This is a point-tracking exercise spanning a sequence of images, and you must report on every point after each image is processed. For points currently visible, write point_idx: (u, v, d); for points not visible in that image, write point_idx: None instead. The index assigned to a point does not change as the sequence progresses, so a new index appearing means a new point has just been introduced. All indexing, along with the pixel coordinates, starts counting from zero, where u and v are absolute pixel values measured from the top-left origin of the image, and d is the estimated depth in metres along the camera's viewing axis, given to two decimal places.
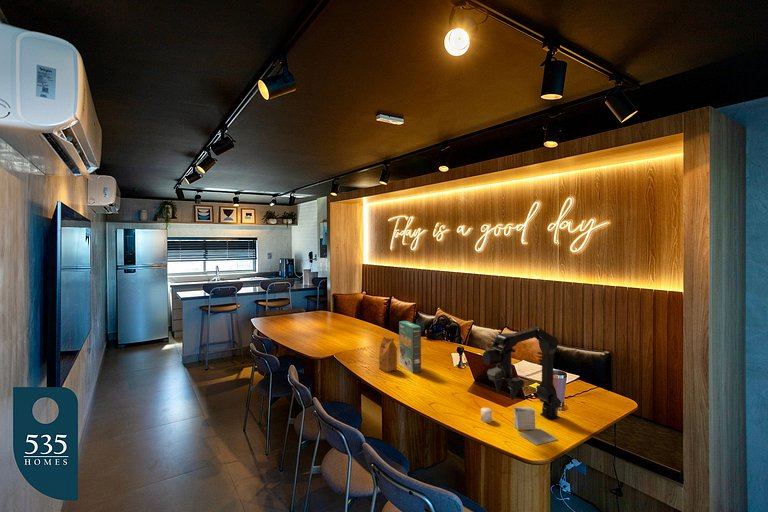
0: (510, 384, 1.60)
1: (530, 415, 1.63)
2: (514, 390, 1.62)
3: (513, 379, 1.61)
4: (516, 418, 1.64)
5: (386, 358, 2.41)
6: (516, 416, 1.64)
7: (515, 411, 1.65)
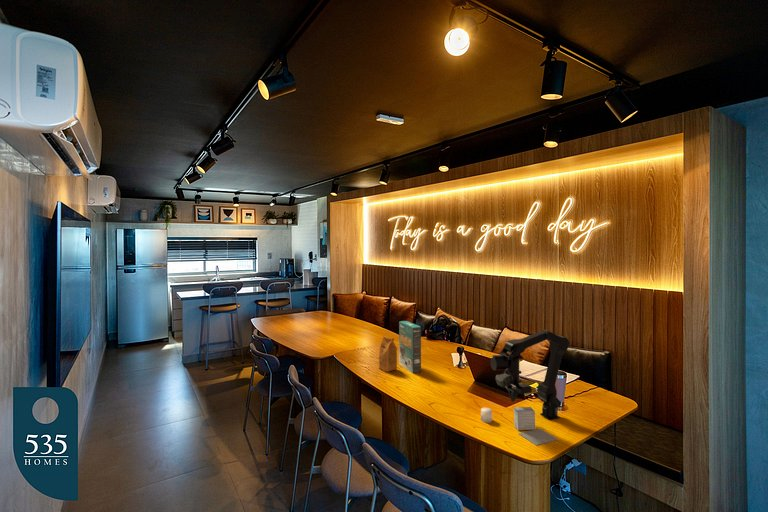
0: (518, 390, 1.64)
1: (530, 415, 1.63)
2: (515, 392, 1.71)
3: (521, 385, 1.65)
4: (516, 418, 1.64)
5: (386, 358, 2.41)
6: (516, 416, 1.64)
7: (515, 411, 1.65)
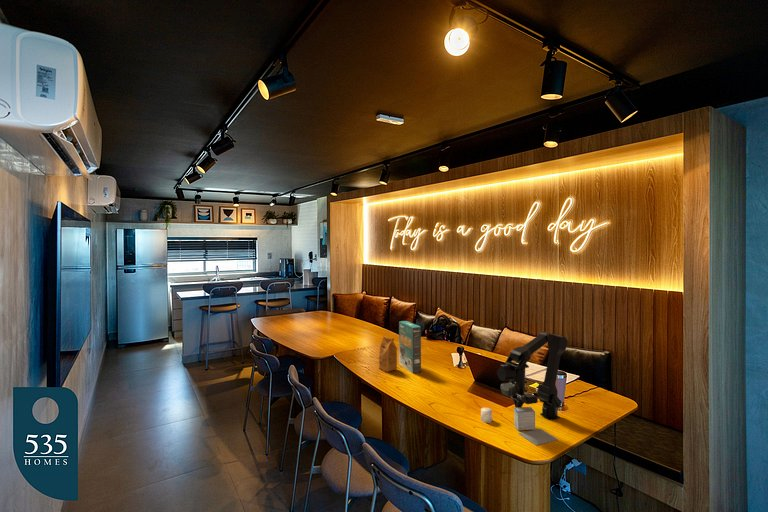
0: (523, 400, 1.61)
1: (530, 416, 1.62)
2: (520, 402, 1.67)
3: (526, 395, 1.61)
4: (516, 419, 1.64)
5: (386, 358, 2.41)
6: (516, 417, 1.64)
7: (515, 412, 1.65)
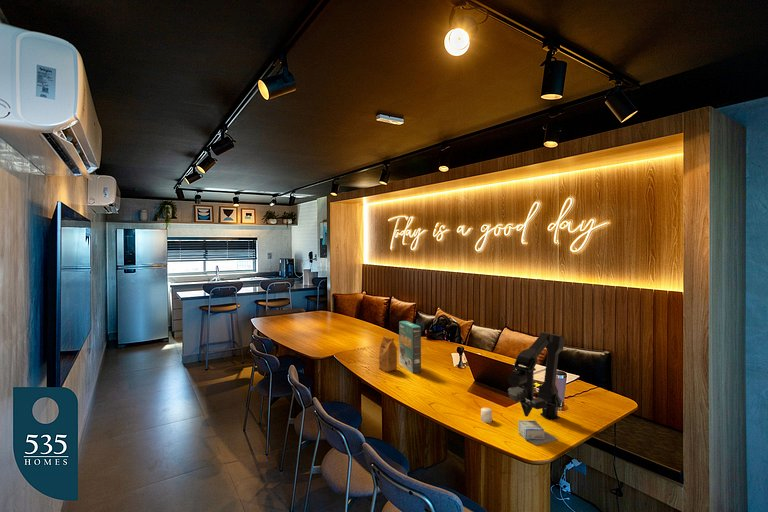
0: (533, 405, 1.56)
1: None
2: (529, 407, 1.63)
3: (536, 400, 1.57)
4: (522, 432, 1.58)
5: (386, 358, 2.41)
6: (523, 433, 1.57)
7: (524, 433, 1.55)
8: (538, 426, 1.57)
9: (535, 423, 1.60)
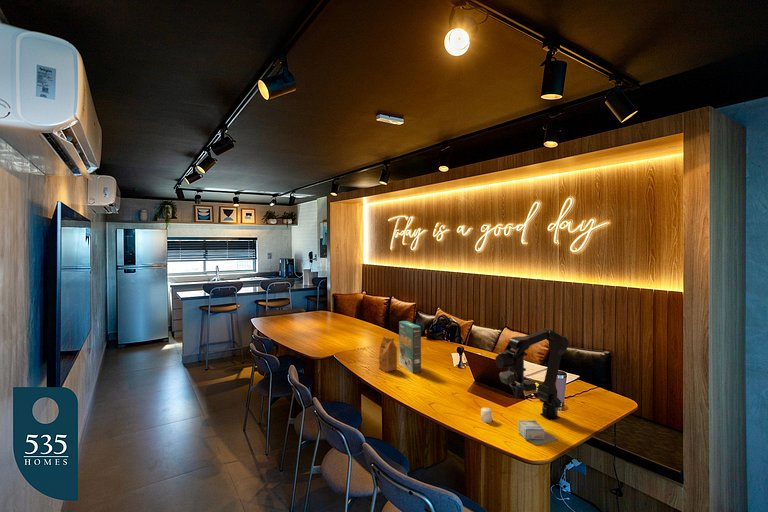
0: (522, 387, 1.61)
1: None
2: (519, 390, 1.68)
3: (525, 382, 1.62)
4: (522, 432, 1.58)
5: (386, 358, 2.41)
6: (523, 433, 1.57)
7: (524, 433, 1.55)
8: (538, 426, 1.57)
9: (535, 423, 1.60)
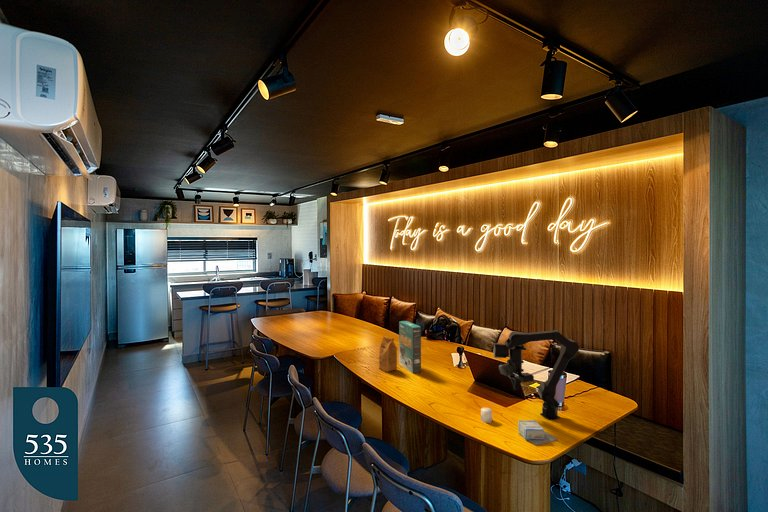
0: (520, 378, 1.71)
1: None
2: (517, 381, 1.78)
3: (523, 374, 1.72)
4: (522, 432, 1.58)
5: (386, 358, 2.41)
6: (523, 433, 1.57)
7: (524, 433, 1.55)
8: (538, 426, 1.57)
9: (535, 423, 1.60)
